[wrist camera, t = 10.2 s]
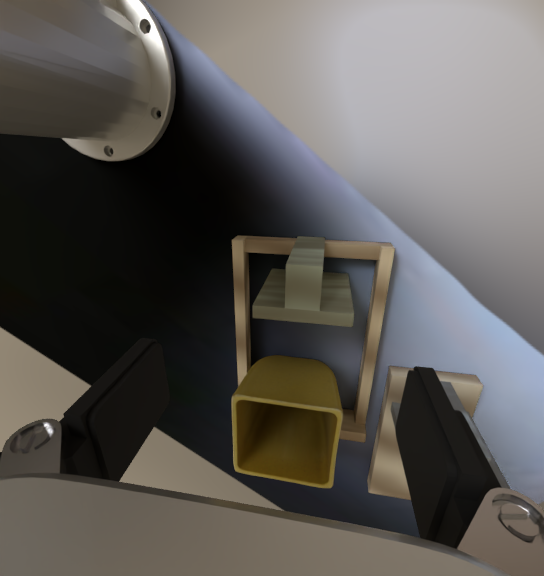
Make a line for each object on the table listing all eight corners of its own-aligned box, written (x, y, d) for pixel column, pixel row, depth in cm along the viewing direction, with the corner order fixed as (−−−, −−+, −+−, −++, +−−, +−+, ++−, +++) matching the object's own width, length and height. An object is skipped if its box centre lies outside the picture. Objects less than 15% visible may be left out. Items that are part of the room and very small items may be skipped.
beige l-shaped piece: (389, 365, 31) (411, 446, 22) (476, 375, 30) (536, 464, 21) (367, 480, 37) (378, 577, 29) (437, 492, 36) (470, 596, 28)
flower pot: (255, 335, 32) (230, 395, 24) (340, 345, 31) (344, 412, 23) (255, 400, 36) (233, 472, 27) (332, 411, 34) (332, 490, 26)
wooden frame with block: (237, 233, 28) (205, 259, 21) (391, 240, 26) (414, 272, 19) (243, 403, 36) (221, 465, 29) (362, 419, 34) (370, 490, 27)
